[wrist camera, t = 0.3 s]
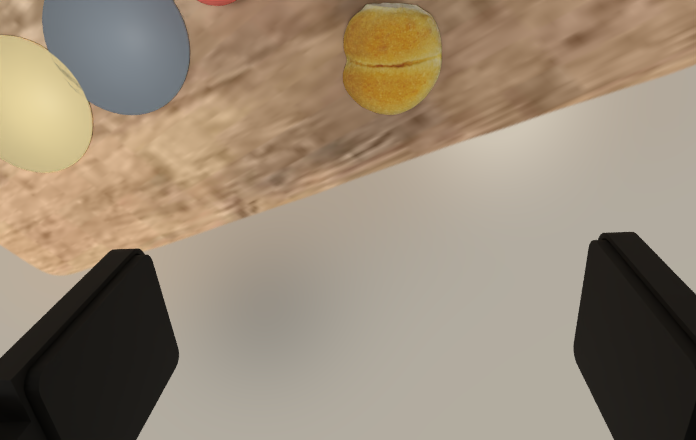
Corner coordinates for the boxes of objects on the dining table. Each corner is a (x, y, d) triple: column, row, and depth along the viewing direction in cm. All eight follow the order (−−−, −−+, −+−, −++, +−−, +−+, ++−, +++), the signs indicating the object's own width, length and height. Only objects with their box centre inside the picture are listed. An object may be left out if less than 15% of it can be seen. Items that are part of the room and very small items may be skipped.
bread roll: (344, 108, 45) (340, 120, 41) (345, 1, 41) (340, 4, 37) (435, 112, 44) (439, 124, 40) (445, 3, 40) (451, 6, 36)
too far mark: (-73, 81, 46) (-74, 81, 46) (20, 5, 42) (19, 6, 42) (29, 193, 51) (27, 193, 50) (120, 133, 47) (119, 134, 47)
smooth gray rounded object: (12, 12, 43) (11, 12, 42) (121, -77, 39) (120, -77, 39) (113, 138, 47) (112, 139, 47) (219, 70, 43) (218, 70, 43)
